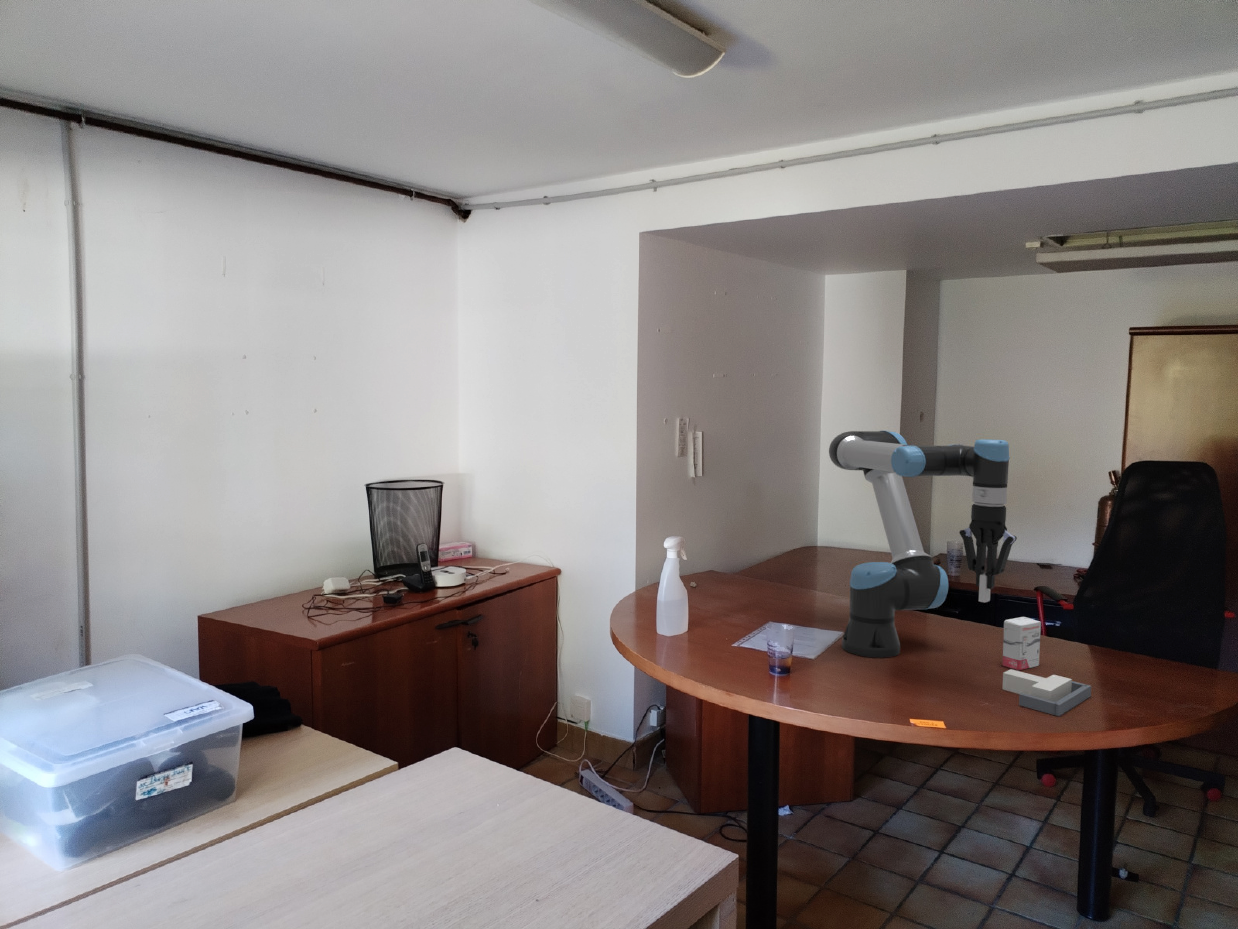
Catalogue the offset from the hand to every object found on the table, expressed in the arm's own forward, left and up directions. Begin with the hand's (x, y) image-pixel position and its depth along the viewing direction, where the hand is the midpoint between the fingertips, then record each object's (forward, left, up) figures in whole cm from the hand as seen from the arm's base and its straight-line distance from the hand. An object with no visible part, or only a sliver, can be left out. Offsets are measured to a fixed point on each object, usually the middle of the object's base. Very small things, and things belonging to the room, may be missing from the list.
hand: (984, 601), depth 190 cm
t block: (+12, 0, -20) cm, 23 cm away
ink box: (+2, +19, -20) cm, 27 cm away
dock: (+18, 0, -20) cm, 26 cm away
